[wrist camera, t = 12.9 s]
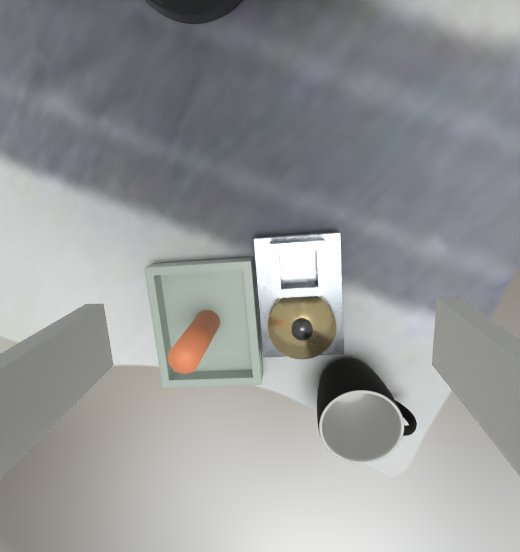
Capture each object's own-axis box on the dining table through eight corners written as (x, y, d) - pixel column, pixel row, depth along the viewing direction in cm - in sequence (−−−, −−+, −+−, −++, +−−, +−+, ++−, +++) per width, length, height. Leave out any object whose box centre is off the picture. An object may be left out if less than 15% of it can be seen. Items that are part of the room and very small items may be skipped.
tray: (153, 263, 46) (144, 267, 43) (253, 256, 45) (250, 261, 42) (170, 376, 50) (162, 387, 47) (263, 373, 49) (261, 384, 46)
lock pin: (194, 310, 46) (165, 344, 36) (218, 309, 46) (197, 343, 35) (197, 333, 47) (169, 374, 36) (221, 332, 47) (200, 373, 36)
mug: (303, 398, 49) (307, 450, 39) (325, 340, 47) (334, 379, 37) (388, 424, 49) (413, 483, 39) (413, 367, 47) (446, 413, 37)
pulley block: (341, 345, 47) (347, 365, 41) (264, 348, 48) (261, 368, 42) (337, 230, 44) (344, 236, 38) (255, 236, 44) (251, 242, 39)
